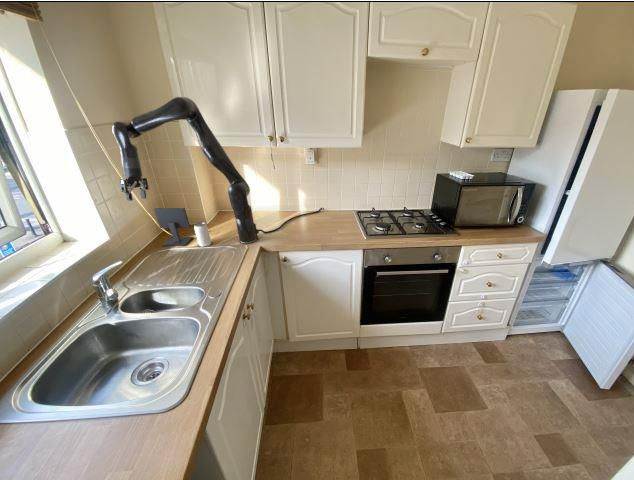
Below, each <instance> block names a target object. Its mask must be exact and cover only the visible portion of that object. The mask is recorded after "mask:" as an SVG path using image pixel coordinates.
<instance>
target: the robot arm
mask: <svg viewBox="0 0 634 480" xmlns="http://www.w3.org/2000/svg"><path fill="white" fill-rule="evenodd" d="M130 120H131V121H128V122H127V121H119V120H118V121H115V122H113V123H112V126H111V132H112V135H113V137H114V139H115V141H116V144H117V146H118V148H119V153H120V164H121V168H122V174H123V176H124V177H125V179H123V178H120V179H119V184H120V192H121V193H125V196H126V200H127V201H128V202H132V201H133V194H132V191H133V190H134V189H136V188H137V189H139V192H140V198H141V199H144V200H145V199H147V192H146V191H148V190H149V189H150V188H149V183H148V179H147V177H143V171H142V166H141V160H140V157H139V150H138V147H137V145H135V144H133V143H132V141H131V139H136V138H139V137H141V136H142V135H143V134H145V133H147V132H151V131H154V130H155V129H158V128H160V127H161V126H163V125H165V124H166V123H170V122H174V121H180V120H181V121H187V123H188V124H189V125H190V127H191V128H192V130H193V132H194V133H195V135H196V138H197V141H198V145H199V147H200V150H201V152H202V154H203V155H204V156H205V158H206V159H207V161H208V162H209V163H210V164H211V165H212V166H213V167H214V168H215V169H216V170H218V171H219V172H220V173H221V174H222V175H223V176H224V177H225V178H226V180H227V181H228V182H229V186H228V189H227V195H228V198H229V203H230V206H231V209H232V211H233V214H234V218H235V224H236V229H237V234H238V240H239V242H240V243H241V244H253V243H255V242H256V241H257V240H259V236H258V234H260V232H262V233H263V234H270V233H273V232H276V231H278V230H280V229H281V228H283V226H284V225H286V224H287V223H289V222H290V221H292V220H294V219H296V218H300V217H303V216H307V215H313V214H317V213H319V212H320V211H321V210H325V208H324V207H320V208H319V209H318V210H316V211H310V212H306V213H302V214H299V215H295V216H293V217H291V218H289V219H287V220H286V221H284V222H283V223H282V224H281V225H279V226H278V227H277V228H275V229H272V230H268V231H267V230H265V231H264V229H258V228H257V224H256V223H255V222H254V221H255V220H254V215H253V210H252V205H250V204H249V201H248V196H249V195H250V193H251V188H250V186H249V184H248V183H247V181H246V180H245V178H244V177H243V176H242V175H241V173H240V171H238V169H237V168H236V166H235V165H234V163H233V162H232V160H231V159H230V157H229V156H228V154H227V152H226V151H225V149H224V147H223V146H222V145H221V143H220V141H219V140H218V139H217V137H216V135H215V134H214V133H213V131H212V130H211V128H210V127H209V125H208V124H207V122H206V120H205V118H204V117H203V115H202V113H201V111H200V109H199V107H198V105H197V104H196V102H195V101H194V100H193V99H191V98H190V97H186V96H175V97H173V98H172V99H170V100H168V101H167V102H166V103H164V104H162V105H161V106H159V107H157V108H155V109H152V110H150V111H147V112H144V113H141V114H139V115H136V116H134V117H133V118H131V119H130ZM322 208H323V209H322Z"/></svg>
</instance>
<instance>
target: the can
mask: <svg viewBox="0 0 634 480" xmlns="http://www.w3.org/2000/svg"><path fill="white" fill-rule="evenodd" d="M193 226H194V227H193V230H194V232H195V236H196V239H197V243H198V246H199V247H202V248H203V247H209V246H211V245H212V239H211V235H210V232H209V228H208V225H207V224H206V222H203V221H201V222H196V223H195V224H194V225H193Z"/></svg>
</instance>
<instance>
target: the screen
mask: <svg viewBox="0 0 634 480" xmlns="http://www.w3.org/2000/svg"><path fill="white" fill-rule="evenodd" d="M153 211H154V214H155V217H156V220H157V224H158V225H159V228H160V229H170V228H169V225H168V223H169V222H175V224H176V227H177V229H184V228H185V229H190V228H191V224H190V221H189V217H188V215H187V210H186V208H185V207H155V208H153Z"/></svg>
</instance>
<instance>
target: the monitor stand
mask: <svg viewBox="0 0 634 480" xmlns="http://www.w3.org/2000/svg"><path fill="white" fill-rule="evenodd" d="M168 225H169V228H168V229H169V231H170V234H171V236H172V237H171V238H169V239H167V240H166V241H165V242H164V243H163V244H162V246H163V247H186V246H187V245H188V244H189V243H190V242H191V241H192V240H193V239H194V236H180V234H179V231H178V230H179V229H178V228H177V227H176V224H175V222H169V223H168Z"/></svg>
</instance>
